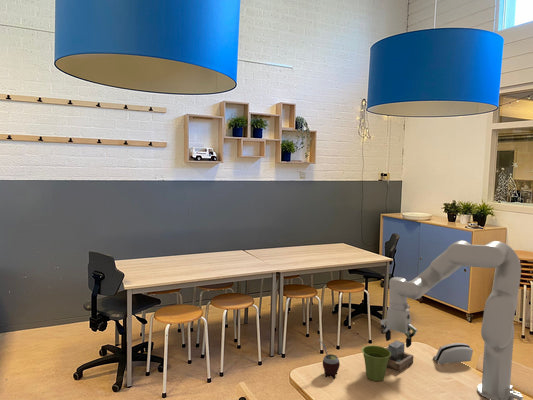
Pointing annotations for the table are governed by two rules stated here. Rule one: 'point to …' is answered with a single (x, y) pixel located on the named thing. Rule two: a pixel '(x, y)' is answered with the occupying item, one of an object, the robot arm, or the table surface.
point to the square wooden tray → (400, 363)
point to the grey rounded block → (454, 353)
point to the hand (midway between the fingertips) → (398, 343)
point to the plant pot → (376, 361)
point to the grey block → (396, 351)
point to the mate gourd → (330, 364)
